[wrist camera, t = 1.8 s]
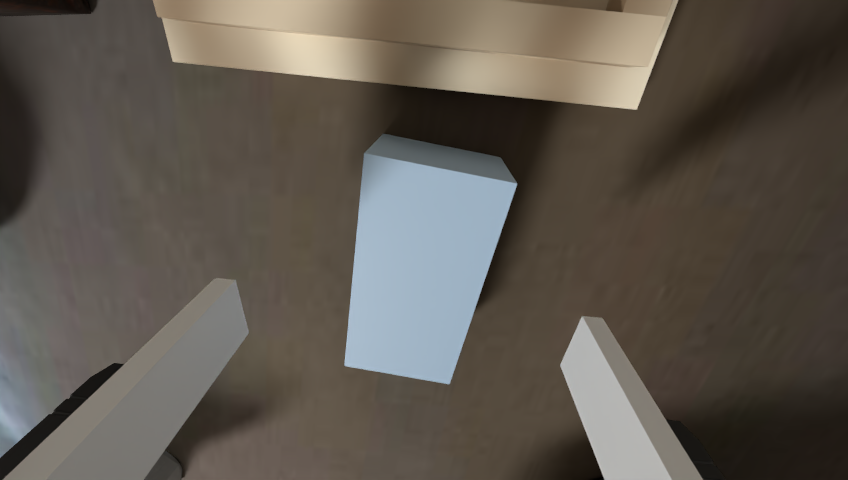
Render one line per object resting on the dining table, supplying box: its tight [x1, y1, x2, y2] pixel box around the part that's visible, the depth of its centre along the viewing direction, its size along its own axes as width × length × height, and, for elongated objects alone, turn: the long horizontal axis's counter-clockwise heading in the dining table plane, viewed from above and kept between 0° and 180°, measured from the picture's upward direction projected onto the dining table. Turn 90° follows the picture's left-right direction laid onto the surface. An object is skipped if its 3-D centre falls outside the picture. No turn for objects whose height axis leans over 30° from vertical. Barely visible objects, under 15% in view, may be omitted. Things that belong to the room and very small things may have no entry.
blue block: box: [344, 134, 517, 384], centre depth 17 cm, size 12×6×4 cm, turn 170°
